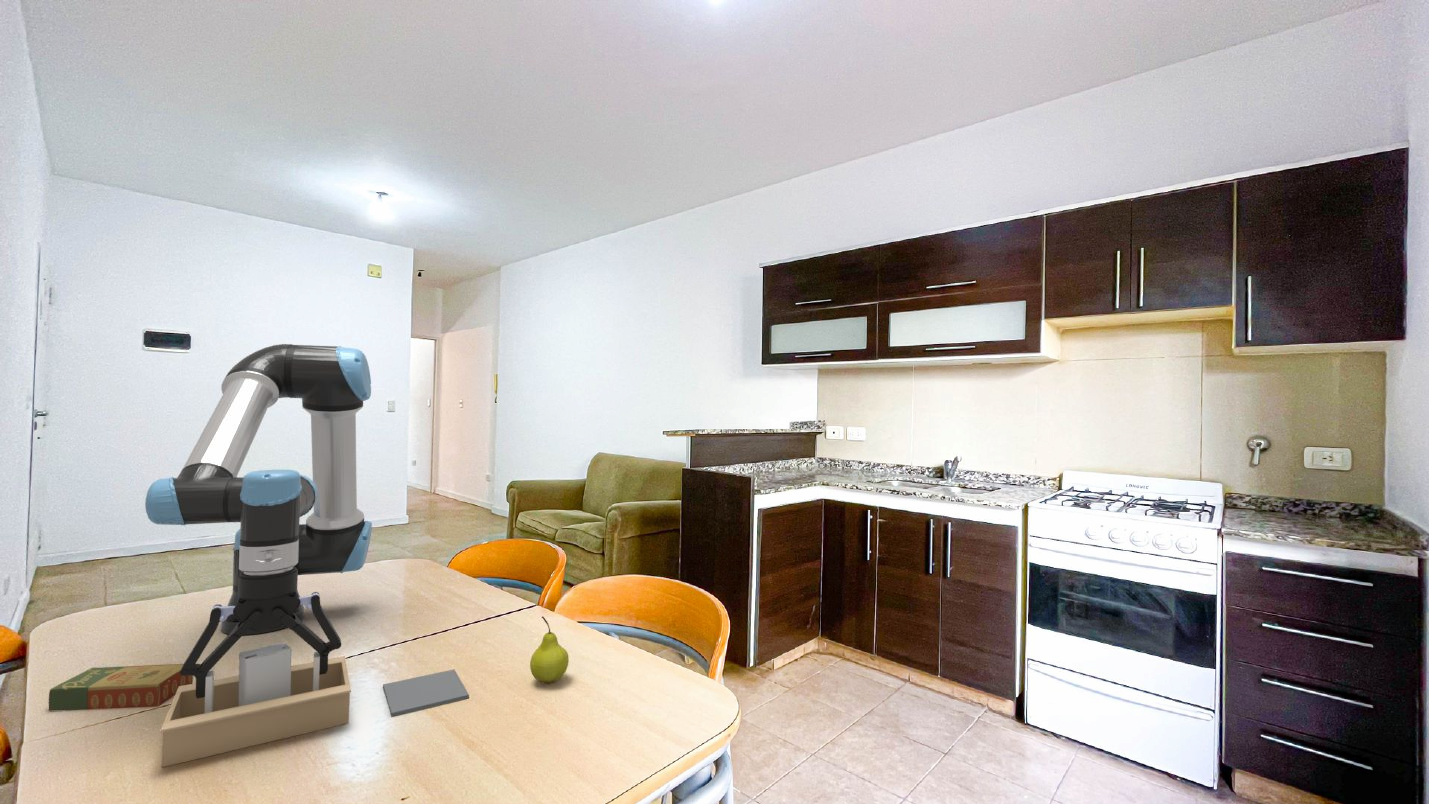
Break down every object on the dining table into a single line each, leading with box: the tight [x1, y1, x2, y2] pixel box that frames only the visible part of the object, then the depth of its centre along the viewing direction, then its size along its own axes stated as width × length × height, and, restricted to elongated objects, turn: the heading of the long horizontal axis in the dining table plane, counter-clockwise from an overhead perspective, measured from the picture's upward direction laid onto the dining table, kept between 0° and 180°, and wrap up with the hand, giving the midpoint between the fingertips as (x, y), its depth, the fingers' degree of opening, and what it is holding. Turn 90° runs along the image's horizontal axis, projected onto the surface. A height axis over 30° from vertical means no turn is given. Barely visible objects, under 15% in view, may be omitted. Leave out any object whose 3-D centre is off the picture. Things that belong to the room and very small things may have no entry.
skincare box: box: [238, 641, 292, 706], centre depth 94 cm, size 6×4×12 cm
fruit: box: [529, 615, 570, 685], centre depth 112 cm, size 7×7×12 cm
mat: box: [382, 669, 470, 718], centre depth 106 cm, size 12×12×1 cm
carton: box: [47, 663, 194, 711], centre depth 102 cm, size 8×16×4 cm, turn 99°
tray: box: [160, 655, 352, 768], centre depth 94 cm, size 15×22×6 cm
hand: (264, 705), depth 94 cm, fingers open, 13 cm apart
